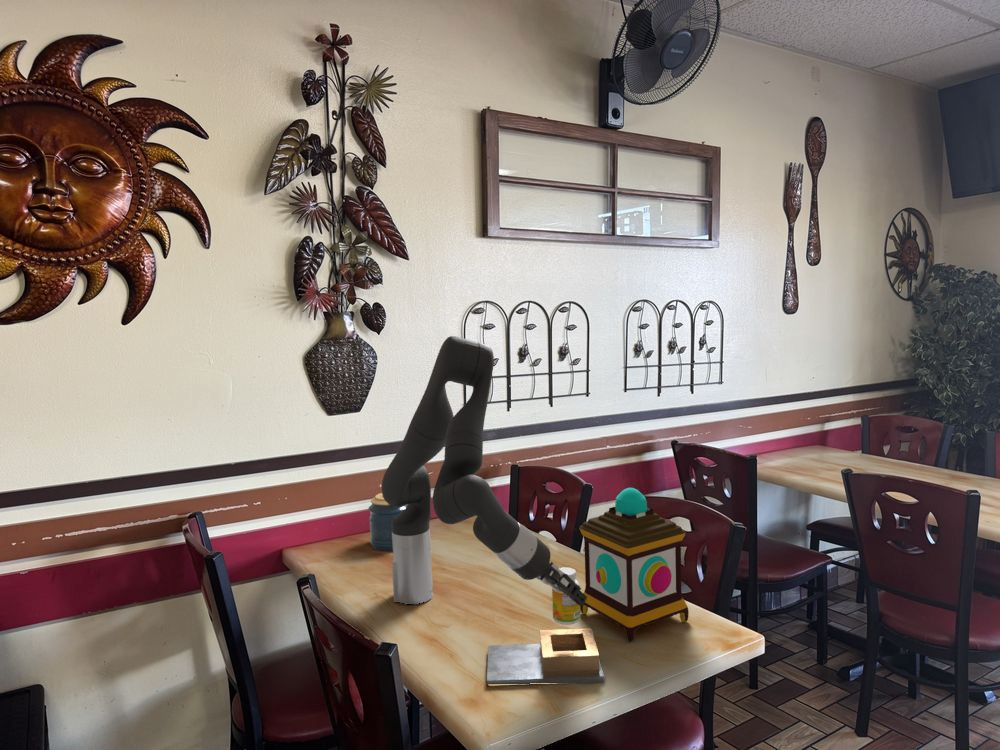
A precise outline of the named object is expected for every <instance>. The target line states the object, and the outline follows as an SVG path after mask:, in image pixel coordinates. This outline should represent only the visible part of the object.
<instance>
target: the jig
mask: <svg viewBox="0 0 1000 750" xmlns="http://www.w3.org/2000/svg"><path fill="white" fill-rule="evenodd" d="M486 670H487V671H486V685H487V684H530V683H576V684H594V683H593V682H603V683H605V674H604V671H603V666H602V664H601V660H600V654H599V651H598V646H597V643H596V639H595V636H594V633H593V629H592V628H568V629H565V628H563V629H542V630H541V629H540V630H539V643H527V644H525V643H523V644H499V645H498V644H497V645H495V644H493V645H488V646H487V669H486Z"/></svg>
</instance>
